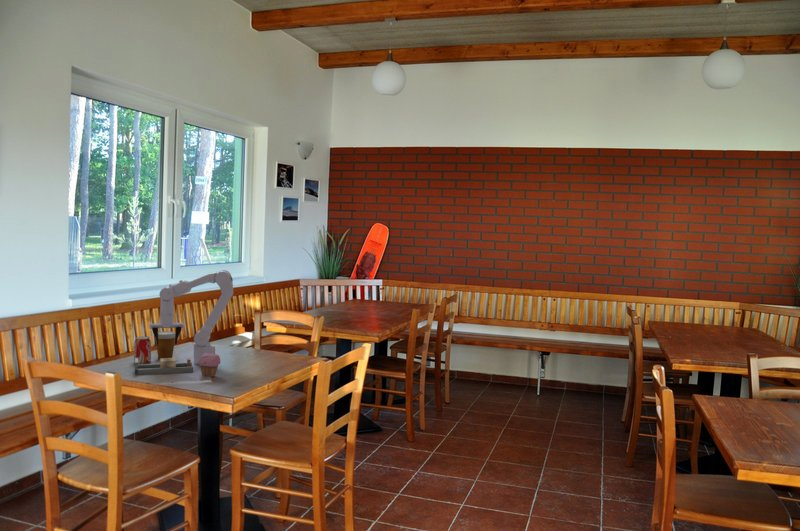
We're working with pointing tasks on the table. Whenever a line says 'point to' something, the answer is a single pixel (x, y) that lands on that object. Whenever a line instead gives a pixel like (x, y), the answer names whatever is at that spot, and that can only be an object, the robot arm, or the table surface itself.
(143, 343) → the soda can
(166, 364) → the block
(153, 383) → the table surface
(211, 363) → the cupcake
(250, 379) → the table surface
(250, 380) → the table surface
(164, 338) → the disposable coffee cup
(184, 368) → the lane
